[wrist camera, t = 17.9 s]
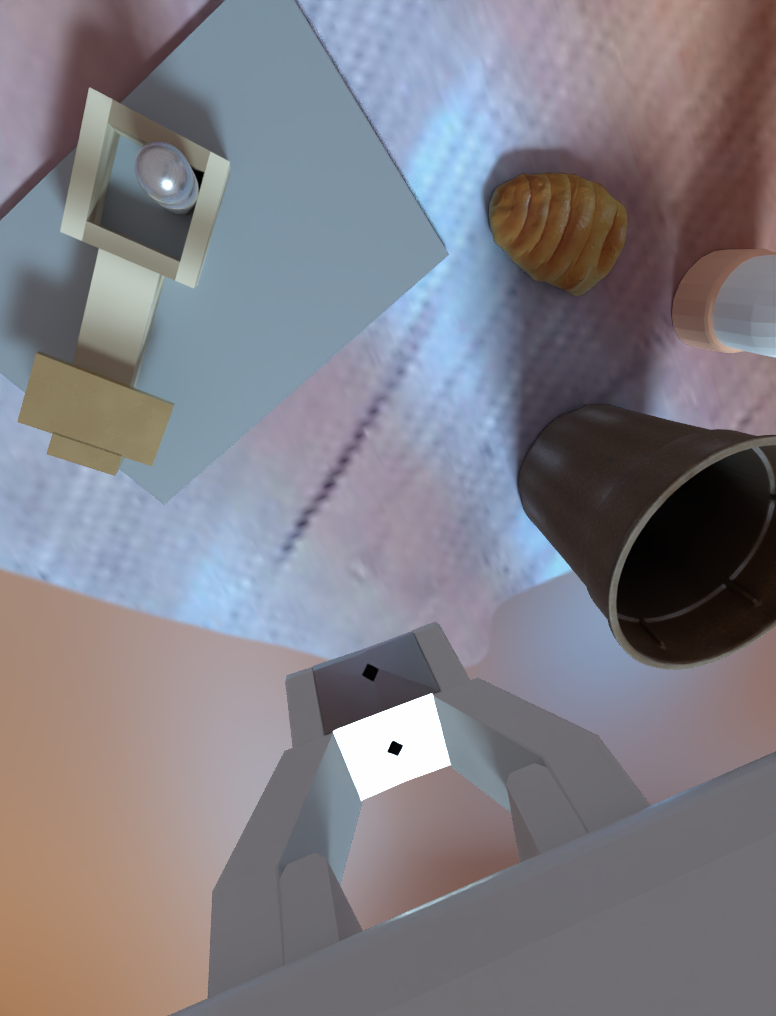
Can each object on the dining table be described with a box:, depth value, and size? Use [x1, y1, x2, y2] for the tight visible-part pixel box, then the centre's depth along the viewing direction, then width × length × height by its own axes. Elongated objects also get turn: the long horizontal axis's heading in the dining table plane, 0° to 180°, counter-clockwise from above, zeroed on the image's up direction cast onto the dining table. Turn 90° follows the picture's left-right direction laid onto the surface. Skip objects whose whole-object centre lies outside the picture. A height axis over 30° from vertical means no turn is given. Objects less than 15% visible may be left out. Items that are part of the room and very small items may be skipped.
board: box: [0, 0, 449, 505], centre depth 32 cm, size 26×17×1 cm, turn 128°
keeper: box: [18, 351, 175, 476], centre depth 31 cm, size 5×7×5 cm
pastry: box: [489, 173, 628, 296], centre depth 34 cm, size 9×7×4 cm
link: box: [60, 87, 231, 388], centre depth 29 cm, size 16×7×3 cm, turn 156°
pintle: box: [134, 141, 201, 216], centre depth 26 cm, size 2×2×8 cm
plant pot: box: [518, 404, 776, 670], centre depth 38 cm, size 16×16×16 cm
